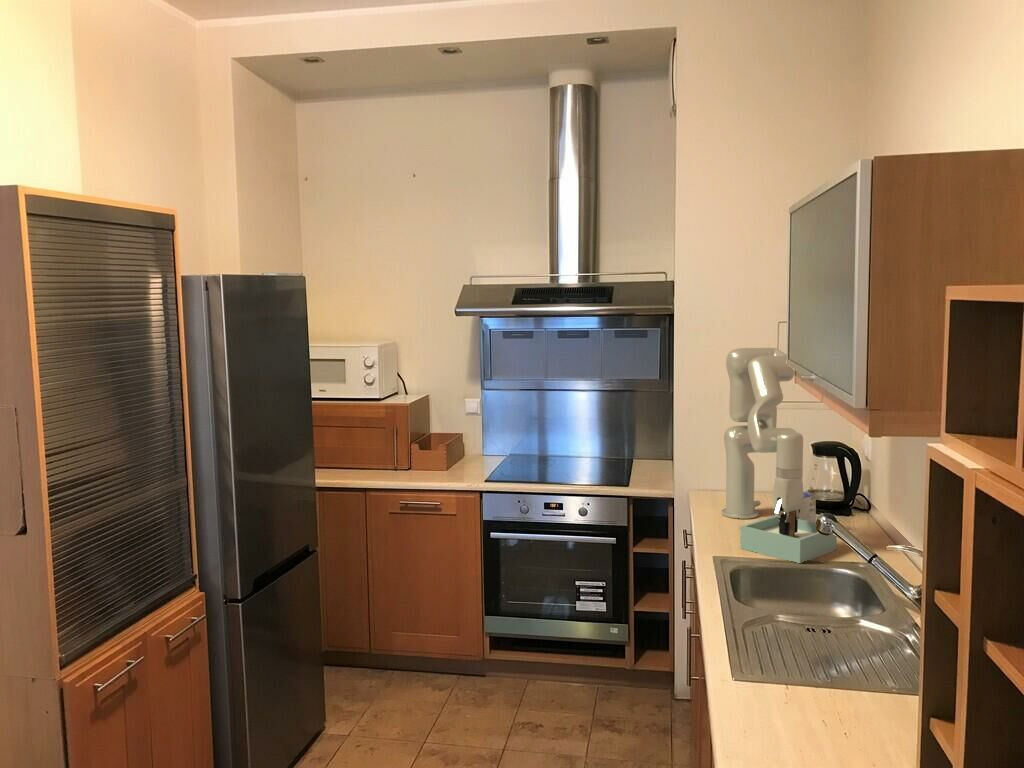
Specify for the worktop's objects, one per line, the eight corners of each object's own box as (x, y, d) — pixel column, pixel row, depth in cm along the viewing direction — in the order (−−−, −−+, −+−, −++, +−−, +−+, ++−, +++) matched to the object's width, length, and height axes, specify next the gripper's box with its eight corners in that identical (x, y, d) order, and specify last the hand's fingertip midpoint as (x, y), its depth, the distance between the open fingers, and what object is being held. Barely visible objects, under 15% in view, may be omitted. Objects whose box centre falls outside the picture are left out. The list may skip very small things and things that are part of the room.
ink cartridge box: (801, 527, 275) (802, 484, 273) (816, 530, 270) (817, 487, 269) (784, 532, 268) (784, 489, 267) (799, 536, 264) (800, 491, 263)
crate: (777, 536, 264) (777, 514, 264) (836, 549, 249) (836, 527, 248) (740, 548, 252) (740, 526, 251) (799, 563, 236) (800, 540, 236)
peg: (786, 543, 253) (786, 505, 252) (796, 546, 250) (797, 507, 249) (779, 546, 251) (780, 507, 249) (790, 548, 248) (790, 509, 247)
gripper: (793, 467, 256) (792, 525, 258) (762, 475, 246) (761, 535, 248) (815, 471, 251) (814, 530, 252) (784, 479, 240) (783, 541, 242)
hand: (788, 532), depth 250 cm, fingers closed on peg, 3 cm apart
